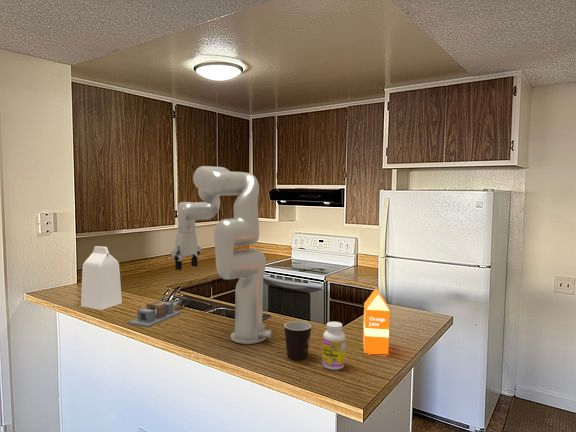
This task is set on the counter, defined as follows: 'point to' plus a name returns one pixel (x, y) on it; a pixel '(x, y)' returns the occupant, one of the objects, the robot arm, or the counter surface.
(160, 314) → the block
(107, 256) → the milk
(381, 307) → the orange juice
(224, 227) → the robot arm
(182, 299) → the shaft
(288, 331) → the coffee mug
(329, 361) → the supplement bottle
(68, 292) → the counter surface
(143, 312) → the bearing block
